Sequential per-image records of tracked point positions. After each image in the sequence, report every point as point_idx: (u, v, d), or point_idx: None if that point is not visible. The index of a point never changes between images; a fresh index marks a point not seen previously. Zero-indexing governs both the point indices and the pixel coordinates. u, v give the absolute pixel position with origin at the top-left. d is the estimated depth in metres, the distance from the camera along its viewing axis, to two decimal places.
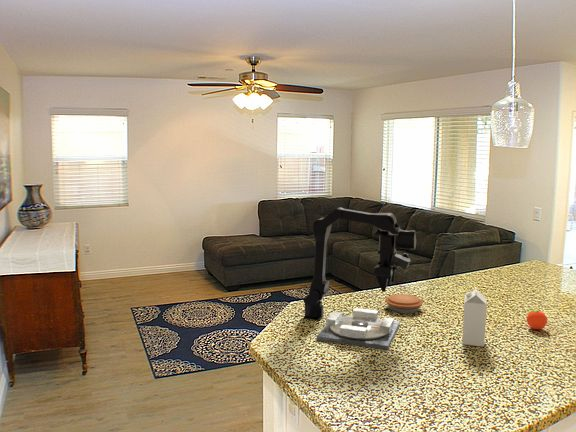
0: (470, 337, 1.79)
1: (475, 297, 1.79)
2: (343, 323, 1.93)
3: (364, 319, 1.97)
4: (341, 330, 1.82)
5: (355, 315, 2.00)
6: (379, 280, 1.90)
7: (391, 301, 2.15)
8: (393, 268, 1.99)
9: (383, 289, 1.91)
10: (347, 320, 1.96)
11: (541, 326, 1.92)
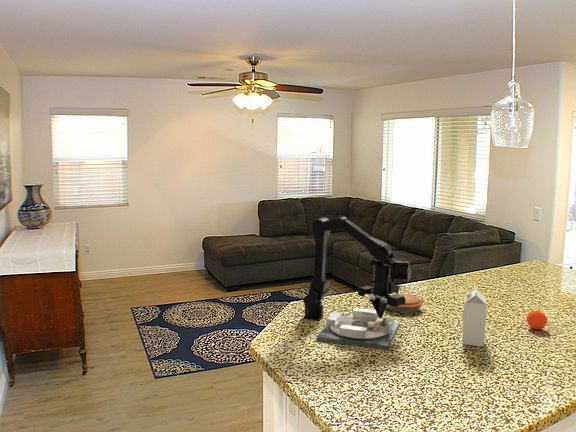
0: (470, 337, 1.79)
1: (475, 297, 1.79)
2: (343, 323, 1.93)
3: (364, 319, 1.97)
4: (341, 330, 1.82)
5: (355, 315, 2.00)
6: (381, 308, 1.94)
7: None
8: None
9: (382, 315, 1.96)
10: (347, 320, 1.96)
11: (541, 326, 1.92)
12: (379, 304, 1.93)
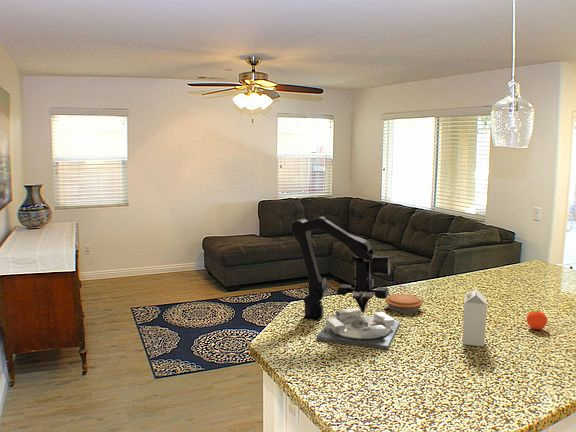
0: (470, 337, 1.79)
1: (475, 297, 1.79)
2: None
3: (352, 319, 1.98)
4: (364, 333, 1.79)
5: (341, 317, 1.98)
6: (366, 303, 1.99)
7: (391, 301, 2.15)
8: (362, 294, 2.02)
9: (364, 310, 2.01)
10: (341, 323, 1.93)
11: (541, 326, 1.92)
12: (365, 299, 1.97)
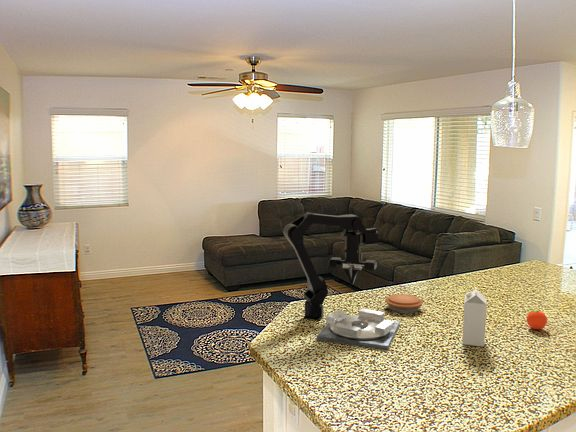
0: (470, 337, 1.79)
1: (475, 297, 1.79)
2: None
3: (343, 321, 1.95)
4: (385, 330, 1.81)
5: (335, 322, 1.93)
6: (355, 274, 2.09)
7: (391, 301, 2.15)
8: (351, 267, 2.12)
9: (353, 281, 2.11)
10: None
11: (541, 326, 1.92)
12: (355, 271, 2.07)
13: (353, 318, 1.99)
